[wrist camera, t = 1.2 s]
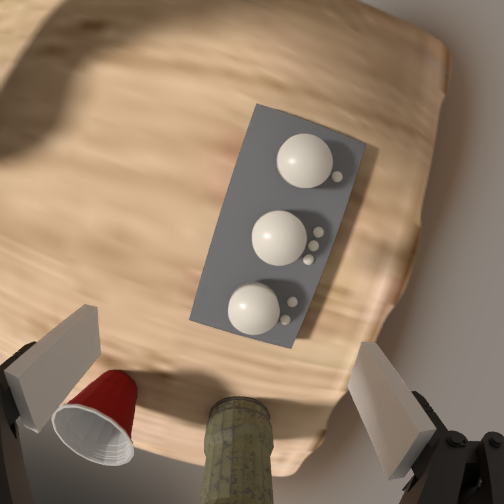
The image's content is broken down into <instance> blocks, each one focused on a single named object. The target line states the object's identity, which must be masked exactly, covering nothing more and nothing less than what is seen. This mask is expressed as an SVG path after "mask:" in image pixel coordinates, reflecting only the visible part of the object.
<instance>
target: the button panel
mask: <svg viewBox="0 0 504 504" xmlns="http://www.w3.org/2000/svg"><path fill="white" fill-rule="evenodd" d="M298 134H311V135H314V136H317V137H319V138H320V139H321V140H323V141H324V142H325V143H326V144H327V146H328V147H329V149H330V151H331V154H332V158H333V166H332V170H331V173H330V175H329V176H328V178H327V179H326V180H325V181H324V182H323V183H322V184H320V185H318V186H316V187H312V188H298V187H294V186H292V185H290V184H288V183H287V182H286V181H285V180H284V179H283V178H282V177H281V175H280V174H279V172H278V169H277V164H276V159H277V154H278V151H279V149H280V148H281V146H282V145H283V144H284V143H285V142H286V141H287V140H288V139H289V138H290V137H292V136H295V135H298ZM365 146H366V144H364V143H362V142H360V141H357V140H355V139H353V138H350V137H348V136H346V135H343V134H341V133H338V132H336V131H334V130H331V129H329V128H326V127H323V126H321V125H318V124H316V123H313V122H310V121H308V120H305V119H302V118H299V117H296V116H294V115H291V114H288V113H285V112H282V111H279V110H276V109H273V108H270V107H266V106H263V105H260V104H256V106H255V109H254V112H253V115H252V118H251V121H250V124H249V126H248V129H247V132H246V135H245V138H244V141H243V144H242V147H241V150H240V153H239V156H238V159H237V162H236V165H235V168H234V171H233V174H232V177H231V180H230V183H229V187H228V190H227V193H226V196H225V199H224V202H223V205H222V209H221V212H220V215H219V218H218V222H217V225H216V228H215V231H214V235H213V238H212V241H211V245H210V248H209V251H208V255H207V258H206V262H205V265H204V268H203V272H202V275H201V279H200V282H199V286H198V290H197V293H196V297H195V300H194V304H193V307H192V311H191V315H190V318H189V320H191V321H194V322H197V323H200V324H203V325H207V326H210V327H213V328H217V329H220V330H223V331H227V332H230V333H234V334H237V335H241V336H244V337H248V338H251V339H255V340H259V341H263V342H266V343H270V344H274V345H278V346H282V347H286V348H290V349H291V348H292V346H293V343H294V341H295V339H296V336H297V334H298V332H299V329H300V327H301V325H302V322H303V320H304V317H305V315H306V313H307V310H308V308H309V305H310V303H311V300H312V298H313V295H314V293H315V290H316V288H317V285H318V283H319V280H320V278H321V275H322V272H323V270H324V267H325V265H326V262H327V259H328V257H329V254H330V251H331V249H332V246H333V243H334V240H335V237H336V235H337V232H338V229H339V226H340V223H341V221H342V218H343V215H344V212H345V209H346V206H347V203H348V200H349V197H350V194H351V191H352V188H353V185H354V182H355V178H356V175H357V172H358V169H359V166H360V162H361V159H362V156H363V153H364V149H365ZM272 210H284V211H287V212H289V213H291V214H293V215H294V216H296V217H297V218H298V219H299V220H300V221H301V222H302V224H303V225H304V227H305V230H306V234H307V242H306V246H305V249H304V251H303V253H302V254H301V256H300V257H299V258H298V259H297V260H295V261H294V262H292V263H290V264H287V265H283V266H275V265H271V264H268V263H266V262H264V261H263V260H262V259H260V258H259V256H258V255H257V254H256V252H255V250H254V248H253V244H252V230H253V227H254V224H255V223H256V221H257V220H258V218H259V217H260V216H262V215H263V214H265V213H266V212H269V211H272ZM248 282H259V283H263V284H265V285H267V286H269V287H270V288H271V289H272V290H273V291H274V293H275V294H276V296H277V299H278V303H279V308H280V314H279V318H278V321H277V323H276V324H275V325H274V327H273V328H271V329H270V330H269V331H267V332H265V333H262V334H258V335H249V334H245V333H242V332H240V331H239V330H237V329H236V328H235V327H234V326H233V325H232V323H231V321H230V319H229V316H228V307H229V301H230V297H231V295H232V293H233V292H234V290H235V289H236V288H238V287H239V286H241V285H242V284H244V283H248Z"/></svg>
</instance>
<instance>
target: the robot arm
mask: <svg viewBox="0 0 504 504" xmlns="http://www.w3.org/2000/svg"><path fill="white" fill-rule="evenodd" d="M100 355H101V348H100V338H99V325H98V310H97V307H95V306H90V305H86V304H84V305H83V306H82V307H80V308H79V309H78V310H77V311H75V312H74V313H73V314H71V315H70V316H69V317H68V318H66V319H65V320H64V321H63V322H61V323H60V324H59V325H58V326H56V327H55V328H54V329H53V330H51V331H50V332H49V333H48V334H47V335H45V336H44V337H43V338H42V339H40V340H39V341H38V342H35V341H34V342H31V343H29V344H26V345H24V346H23V347H22V348H21V349H19V350H18V352H16V353H15V354H13V356H11V357H10V358H9V359H7V360H6V361H5V362H4V363H3V364H1V365H0V504H35V502H34V499H33V495H32V492H31V489H30V485H29V481H28V477H27V473H26V468H25V464H24V459H23V454H22V449H21V444H20V438H19V432H18V426H17V424H16V419H17V418H18V417H19V416H20V417H21V420H22V422H23V424H24V426H25V427H27V428H29V429H31V430H33V431H35V432H37V433H39V432H40V430H41V429H42V428H43V427H44V425H45V424H46V422H47V421H48V420H49V419H50V417H51V416H52V415H53V413H54V412H55V411H56V410H57V408H58V407H59V406H60V404H61V403H62V402H63V400H64V399H65V398H66V397H67V395H68V394H69V393H70V392H71V390H72V389H73V388H74V387H75V385H76V384H77V383H78V382H79V380H80V379H81V378H82V377H83V375H84V374H85V373H86V372H87V370H88V369H89V368H90V367H91V365H92V364H93V363H94V362H95V361H96V359H97V358H98V357H99V356H100ZM347 387H348V389H349V391H350V393H351V396H352V398H353V400H354V403H355V405H356V407H357V409H358V412H359V414H360V416H361V419H362V420H363V423H364V425H365V428H366V430H367V432H368V435H369V437H370V439H371V441H372V444H373V446H374V449H375V451H376V454H377V456H378V458H379V461H380V463H381V465H382V468H383V470H384V473H385V475H386V478H387V480H392V479H397V478H402V477H405V475H406V474H407V473H408V471H409V470H410V468H412V470H413V472H414V476H413V477H412V478H411V479H410V481H409V482H408V483H407V484H406V486H405V487H404V488H403V489H402V490H403V491H404V490H405V489H406V490H405V492H404V495H403V497H402V499H401V501H400V503H399V504H504V436H503V435H501V434H499V433H497V432H488V433H486V434H485V435H484V437H483V438H482V440H481V441H468V440H467V438H466V437H465V436H464V435H463V434H461V433H459V432H457V431H452V430H451V431H448V430H447V428H446V427H445V426H444V424H443V423H442V421H441V420H440V419H439V417H438V416H437V414H436V413H435V412H433V409H432V407H431V406H429V403H428V402H427V401H426V399H425V398H424V397H423V396H422V395H420V394H419V393H418V392H416V391H412V392H411V391H410V390H409V388H408V387H407V385H406V384H405V383H404V381H403V380H402V378H401V377H400V376H399V374H398V373H397V371H396V370H395V369H394V367H393V366H392V364H391V363H390V362H389V361H388V359H387V358H386V356H385V355H384V354H383V352H382V351H381V349H380V348H379V347H378V346H377V344H376V343H375V342H362V343H361V347H360V350H359V353H358V356H357V359H356V362H355V365H354V368H353V371H352V374H351V377H350V380H349V383H348V386H347ZM481 480H482V481H481Z"/></svg>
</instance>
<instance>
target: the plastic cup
mask: <svg viewBox="0 0 504 504" xmlns="http://www.w3.org/2000/svg"><path fill="white" fill-rule="evenodd" d="M136 400H137V386H136V384H135V382H134V381H133V380H132V379H131V378H130V377H129V376H128V375H126V374H125V373H123V372H121V371H117V370H109V371H107V372H105V373H103V374H102V375H101V376H99V377H98V378H97V379H96V380H95V381H93V382H92V383H90V384H89V385H88V386H87V387H86V388H85V389H84V390H82V391H81V392H80V393H79V394H78V395H77V396H76V397H75V398H73V399H72V400H70V401H69V402H68V403H67V404H64V405H62V406H60V407H58V408H57V410H56V411H55V412H54V413H53V415H52V423H53V427H54V430H55V432H56V433H57V435H58V436H59V437H60V439H61V440H62V441H63V443H65V444H66V445H67V446H68V447H69V448H71V449H72V450H73V451H74V452H75V453H77V454H79V455H81V456H82V457H84V458H86V459H88V460H90V461H93V462H96V463H99V464H103V465H113V466H119V465H122V464H125V463H128V462H129V461H130V460H131V458H132V457H133V455H134V449H133V442H132V440H131V431H132V425H133V419H134V413H135V405H136Z"/></svg>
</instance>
